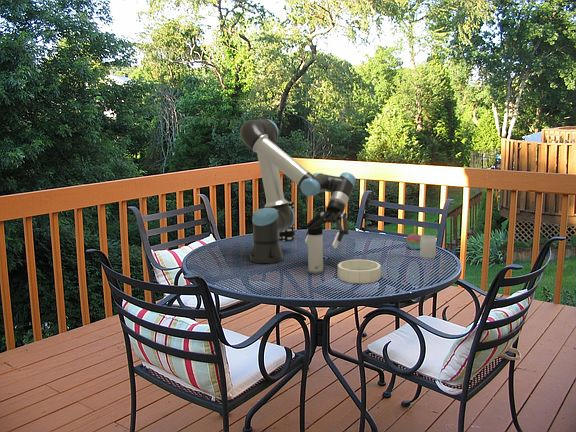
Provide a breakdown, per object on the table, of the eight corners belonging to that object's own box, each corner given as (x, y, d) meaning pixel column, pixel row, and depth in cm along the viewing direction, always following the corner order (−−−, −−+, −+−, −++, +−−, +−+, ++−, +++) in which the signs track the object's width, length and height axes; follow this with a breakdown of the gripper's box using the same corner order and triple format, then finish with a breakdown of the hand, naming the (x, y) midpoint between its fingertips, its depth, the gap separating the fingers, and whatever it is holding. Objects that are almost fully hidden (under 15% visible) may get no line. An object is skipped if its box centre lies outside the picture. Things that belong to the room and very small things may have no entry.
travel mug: (319, 275, 226) (318, 228, 222) (305, 272, 229) (304, 226, 225) (326, 271, 231) (326, 225, 227) (312, 269, 234) (312, 224, 231)
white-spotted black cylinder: (297, 238, 291) (296, 201, 288) (290, 242, 284) (290, 204, 280) (283, 237, 295) (282, 201, 291) (276, 240, 287) (275, 203, 284)
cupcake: (423, 250, 261) (424, 226, 259) (405, 250, 263) (406, 225, 260) (422, 246, 269) (423, 222, 267) (405, 245, 271) (405, 222, 269)
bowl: (333, 281, 217) (333, 269, 216) (344, 269, 233) (344, 258, 232) (375, 285, 211) (375, 272, 210) (383, 272, 227) (383, 261, 226)
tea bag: (434, 258, 247) (435, 236, 245) (419, 257, 250) (420, 236, 248) (435, 256, 251) (436, 235, 249) (420, 255, 253) (421, 234, 251)
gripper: (365, 211, 233) (349, 253, 224) (316, 206, 247) (299, 246, 238) (360, 201, 227) (342, 243, 218) (310, 197, 242) (292, 236, 233)
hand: (320, 245), depth 228 cm, fingers open, 13 cm apart
